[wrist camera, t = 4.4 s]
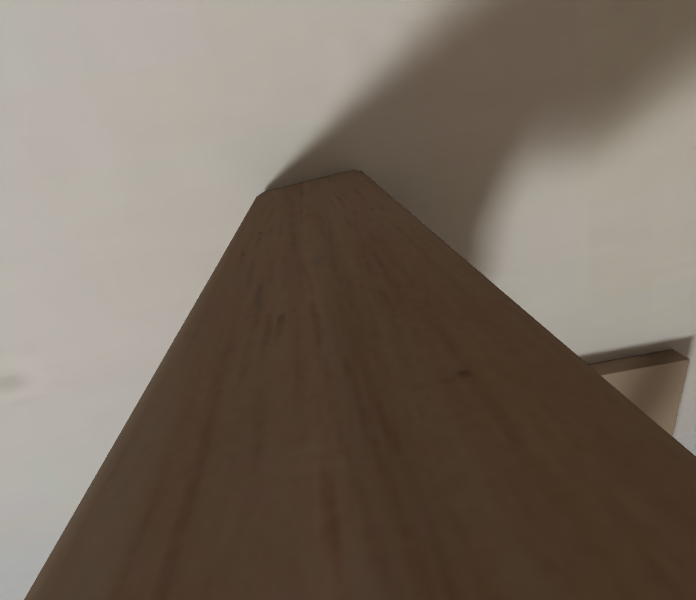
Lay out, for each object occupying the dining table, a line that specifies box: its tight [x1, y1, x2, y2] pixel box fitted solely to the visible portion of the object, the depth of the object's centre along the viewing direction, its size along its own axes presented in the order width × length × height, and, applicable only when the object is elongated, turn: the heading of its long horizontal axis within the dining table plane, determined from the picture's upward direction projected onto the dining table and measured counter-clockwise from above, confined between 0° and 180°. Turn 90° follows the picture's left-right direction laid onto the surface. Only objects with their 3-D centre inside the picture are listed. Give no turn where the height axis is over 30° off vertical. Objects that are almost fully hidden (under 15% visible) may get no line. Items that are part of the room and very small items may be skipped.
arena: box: [589, 350, 689, 436], centre depth 22 cm, size 18×16×7 cm
